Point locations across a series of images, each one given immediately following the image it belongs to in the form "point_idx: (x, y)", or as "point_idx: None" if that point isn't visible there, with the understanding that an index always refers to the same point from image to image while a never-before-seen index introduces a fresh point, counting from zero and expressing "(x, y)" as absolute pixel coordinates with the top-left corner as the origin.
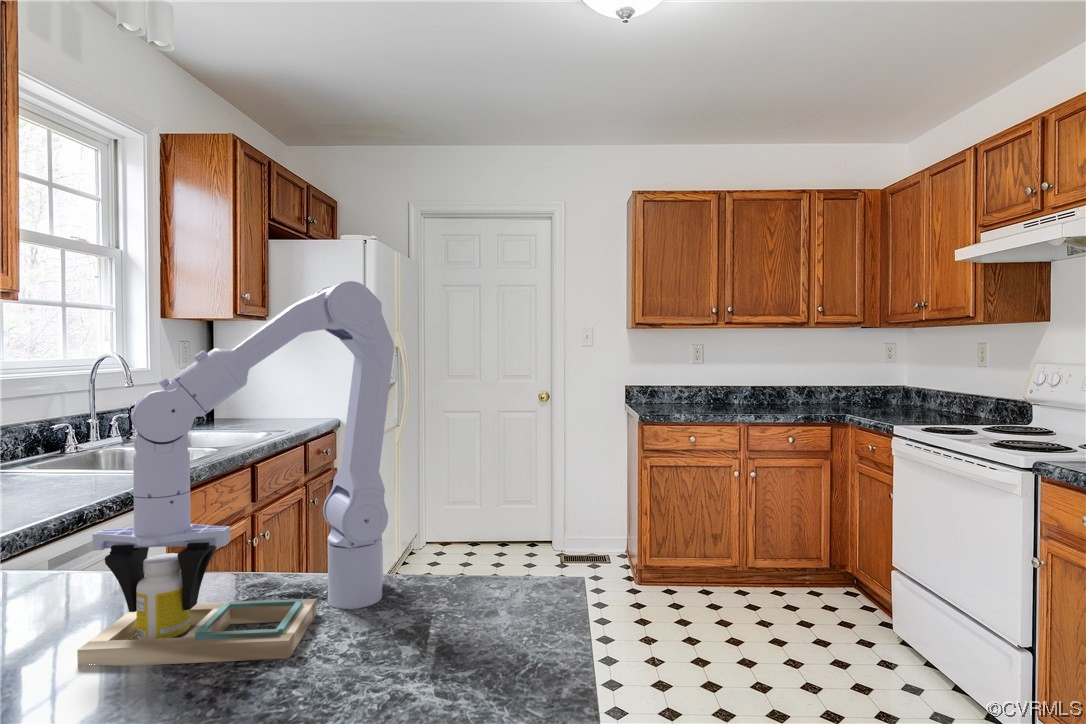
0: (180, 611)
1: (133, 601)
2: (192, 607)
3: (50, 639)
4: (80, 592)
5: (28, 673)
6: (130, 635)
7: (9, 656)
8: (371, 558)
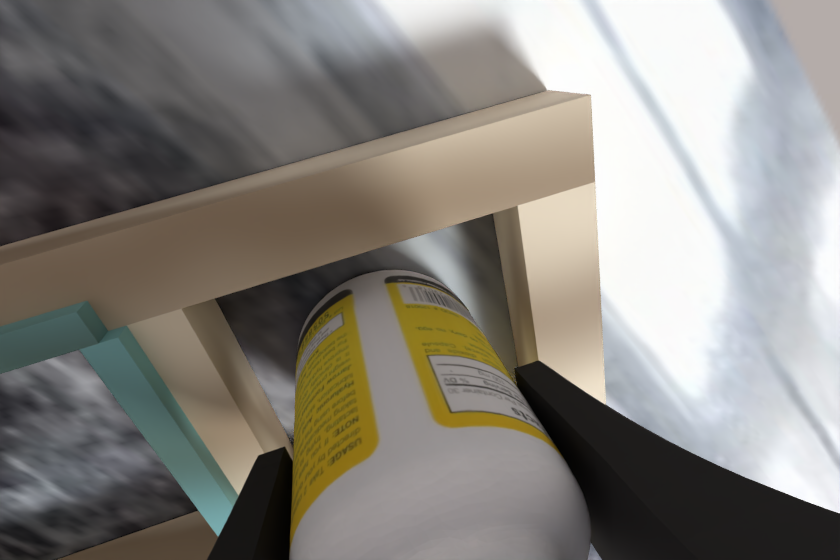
0: (294, 434)
1: (540, 398)
2: None
3: (766, 264)
4: (823, 488)
5: (706, 23)
6: (517, 328)
7: (831, 137)
8: None
